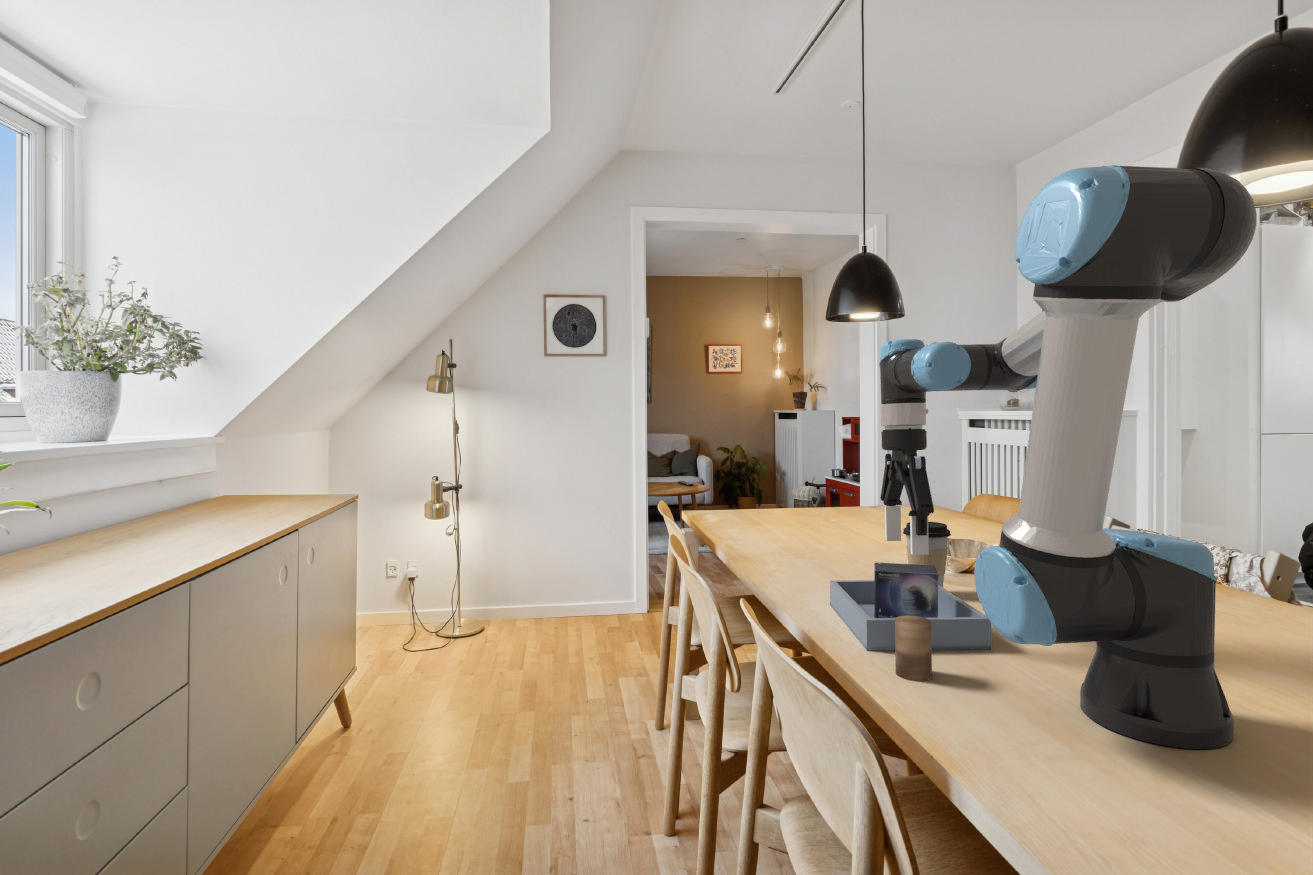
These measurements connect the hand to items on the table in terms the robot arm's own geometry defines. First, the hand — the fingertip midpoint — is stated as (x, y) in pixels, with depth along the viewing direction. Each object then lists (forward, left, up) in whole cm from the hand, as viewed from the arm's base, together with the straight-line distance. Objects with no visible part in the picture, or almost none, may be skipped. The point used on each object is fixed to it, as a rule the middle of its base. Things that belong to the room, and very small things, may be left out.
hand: (905, 547), depth 118 cm
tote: (+2, 0, -15) cm, 15 cm away
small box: (0, 0, -14) cm, 14 cm away
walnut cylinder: (-21, +6, -15) cm, 26 cm away
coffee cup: (+22, -12, -15) cm, 29 cm away
